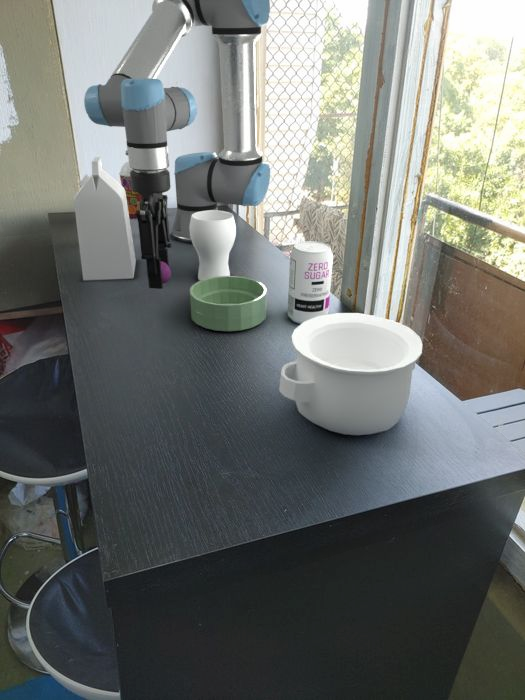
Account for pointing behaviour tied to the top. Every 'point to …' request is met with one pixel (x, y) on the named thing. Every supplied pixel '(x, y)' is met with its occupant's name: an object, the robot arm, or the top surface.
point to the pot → (351, 371)
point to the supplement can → (309, 280)
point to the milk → (103, 227)
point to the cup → (212, 241)
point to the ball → (164, 272)
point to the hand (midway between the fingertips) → (159, 282)
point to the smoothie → (129, 191)
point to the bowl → (228, 303)
